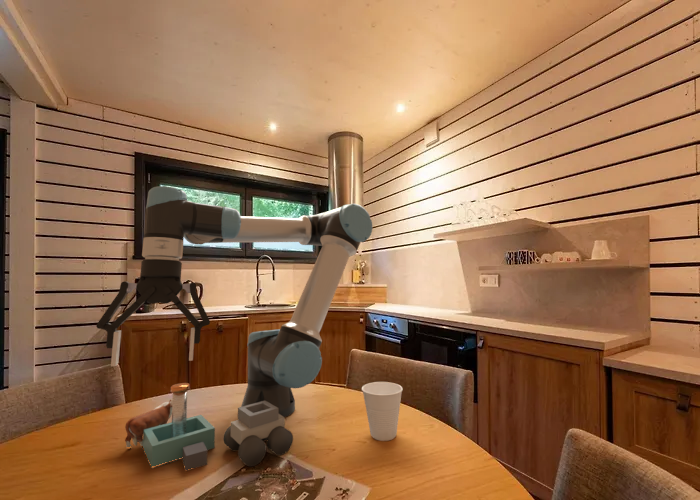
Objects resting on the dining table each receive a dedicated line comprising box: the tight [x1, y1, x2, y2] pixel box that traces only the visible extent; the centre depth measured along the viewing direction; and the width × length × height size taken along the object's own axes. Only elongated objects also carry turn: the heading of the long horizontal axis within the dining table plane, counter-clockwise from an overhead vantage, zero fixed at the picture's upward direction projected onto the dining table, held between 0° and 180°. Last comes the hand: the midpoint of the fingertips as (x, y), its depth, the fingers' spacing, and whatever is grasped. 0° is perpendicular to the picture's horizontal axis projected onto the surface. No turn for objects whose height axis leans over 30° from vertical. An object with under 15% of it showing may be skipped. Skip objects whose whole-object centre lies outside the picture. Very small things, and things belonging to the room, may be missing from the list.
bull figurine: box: [124, 399, 172, 448], centre depth 79 cm, size 4×13×8 cm, turn 153°
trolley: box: [223, 401, 294, 467], centre depth 73 cm, size 11×11×9 cm
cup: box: [361, 381, 404, 442], centre depth 79 cm, size 10×10×11 cm
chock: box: [181, 442, 208, 471], centre depth 69 cm, size 4×4×3 cm
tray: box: [142, 414, 216, 468], centre depth 75 cm, size 10×12×4 cm
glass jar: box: [170, 382, 190, 438], centre depth 75 cm, size 4×4×13 cm
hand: (154, 362), depth 68 cm, fingers open, 13 cm apart
